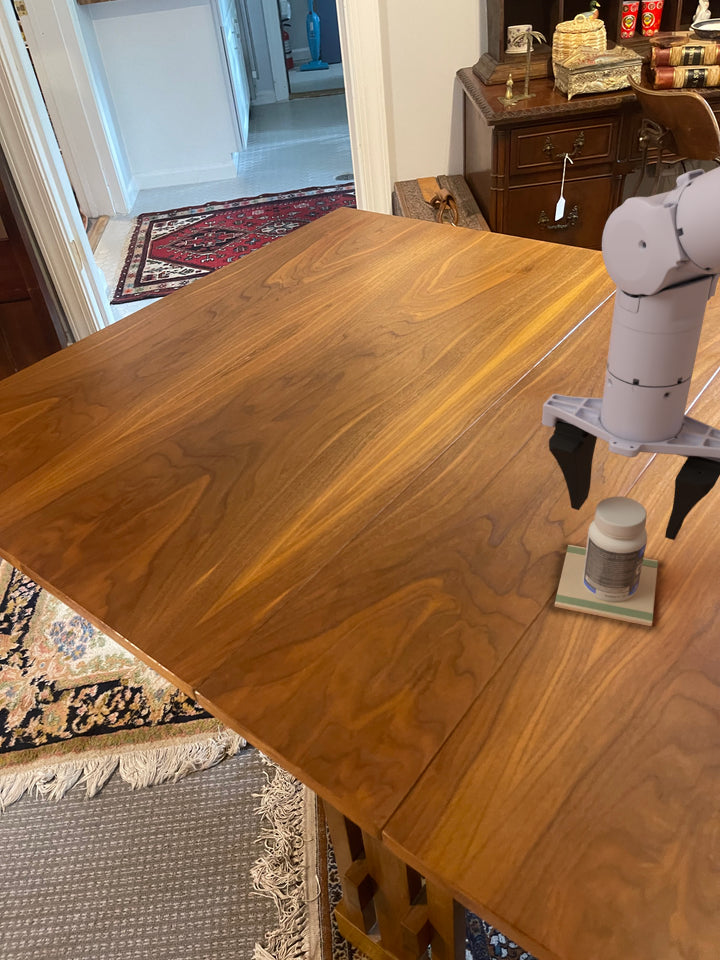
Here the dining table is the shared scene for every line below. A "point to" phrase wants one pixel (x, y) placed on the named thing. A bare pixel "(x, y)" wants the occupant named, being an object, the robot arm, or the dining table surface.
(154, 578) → the dining table surface
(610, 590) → the pill bottle
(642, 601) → the striped square coaster
